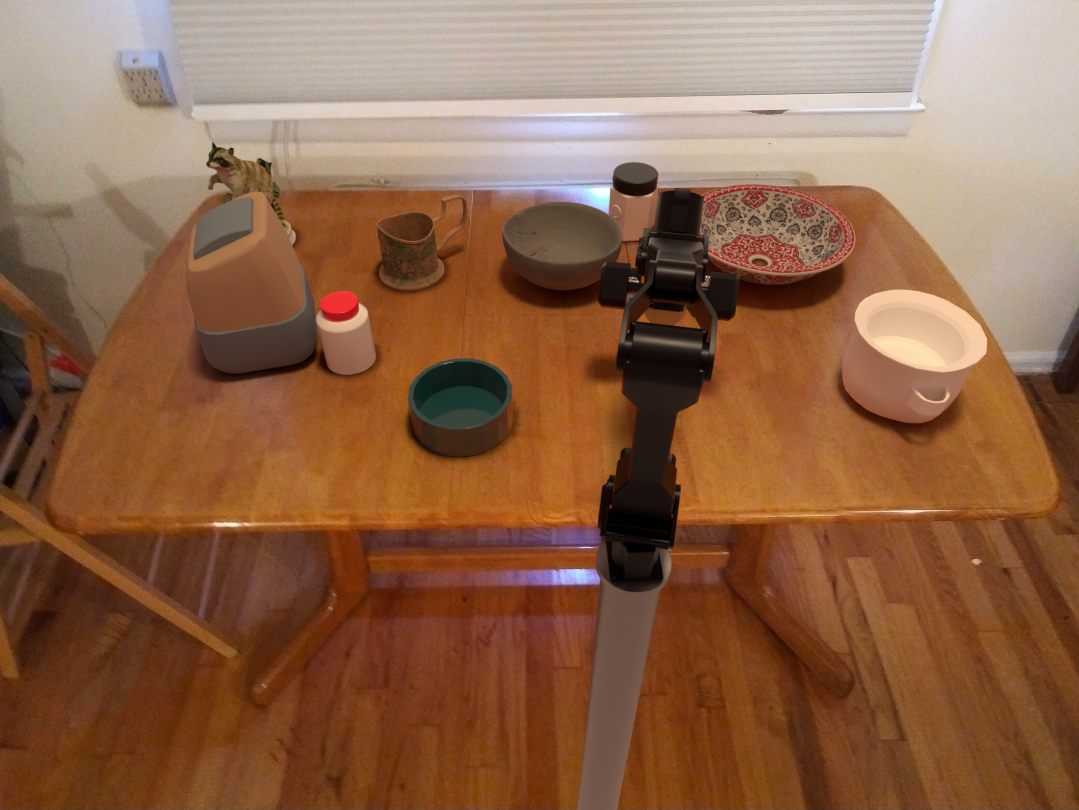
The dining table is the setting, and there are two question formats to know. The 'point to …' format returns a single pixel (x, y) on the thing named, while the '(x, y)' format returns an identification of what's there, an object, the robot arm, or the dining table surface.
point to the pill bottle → (345, 333)
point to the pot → (910, 354)
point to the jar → (633, 198)
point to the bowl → (561, 244)
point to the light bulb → (664, 316)
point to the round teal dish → (461, 407)
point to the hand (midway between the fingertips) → (665, 301)
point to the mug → (413, 248)
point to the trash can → (249, 289)
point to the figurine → (245, 180)
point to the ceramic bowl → (773, 233)
